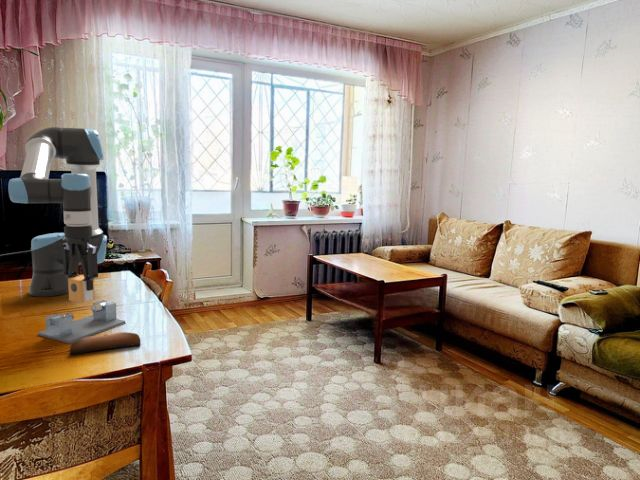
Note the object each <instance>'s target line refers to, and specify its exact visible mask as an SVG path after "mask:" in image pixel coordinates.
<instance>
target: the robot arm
mask: <svg viewBox="0 0 640 480" xmlns="http://www.w3.org/2000/svg"><path fill="white" fill-rule="evenodd" d="M102 148H103V147H102V143H101V137H100V134H99V132H98V131H97V130H96V129H92V128H91V129H88V128H80V127H79V128H78V127H77V128H76V127H75V128H74V127H58V126H51V127H47V128H43V129H40V130H38V131H37V132H34V133H33V134H32V135H31V136H30V137H29V138H28V139H27V141H26V143H25V146H24V149H25V150H24V152H25V159H24V163H23V166H22V169H21V174H20V176H19V177H15V178H11V179H9V181H8V187H7V188H8V197H9V199H10V201H11V202H12V203H15V204H16V203H17V204H19V203H20V204H25V205H26V204H62V207H63V208H62V209H63V210H62V211H63V223H64V224H65V225H64V226H63V230H64V231H63V232H53V233H46V234H42V235H41V234H40V235H37V236H35V237H33V238H32V239H31V242H30V243H31V244H30V246H31V247H30V251H31V265H32V278H31V280H30V284H29V286H28V293H29V294H28V295H30V296H33V297H41V298H43V297H44V298H45V297H55V296H61V295H65V294H69V287H68V278H73V277H78V276H80V274H79V273H78V272H79V266H80V265H81V269H82V273H83V276H84V279H82V280H83V297H84V301H85V302H90V301H92V300H94V299H93V279H94V280H95V279H97V278H99V268H98V267H99V266H98V264H102V263H104V261H105V259H106V253H107V251H106V250H107V244H108V243H107V241H108V236H107V235H105V234H104V231H103V230H102V228H100V226H99V207H98V206H99V205H98V190H97V189H98V188H97V168H98V167H99V166H100V164H101V162H100V161H103V160H104V154H103V153H104V152H103V149H102ZM54 159H61V160H62V159H65V161H66V165H67V166H68V167H69V168H70V169H71V173H63V174H62V175H61V178H49V177H50V171H51V166H52V161H53V160H54ZM89 300H90V301H89ZM85 302H84V303H85Z"/></svg>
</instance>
